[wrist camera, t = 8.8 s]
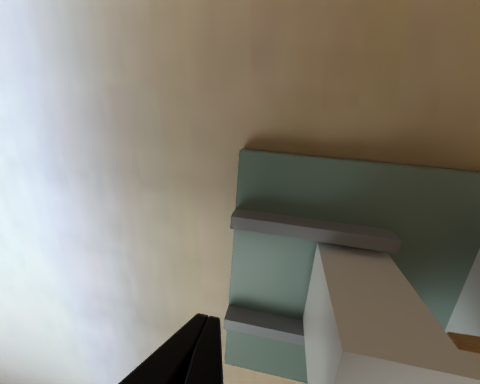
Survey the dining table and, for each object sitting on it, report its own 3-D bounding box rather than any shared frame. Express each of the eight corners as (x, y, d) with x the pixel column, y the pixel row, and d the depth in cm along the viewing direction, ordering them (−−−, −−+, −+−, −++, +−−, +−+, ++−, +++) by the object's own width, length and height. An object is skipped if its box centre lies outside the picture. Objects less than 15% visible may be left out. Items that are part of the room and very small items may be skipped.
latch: (436, 345, 12) (557, 530, 6) (302, 318, 12) (313, 460, 7) (469, 265, 10) (657, 418, 5) (317, 242, 11) (343, 350, 6)
